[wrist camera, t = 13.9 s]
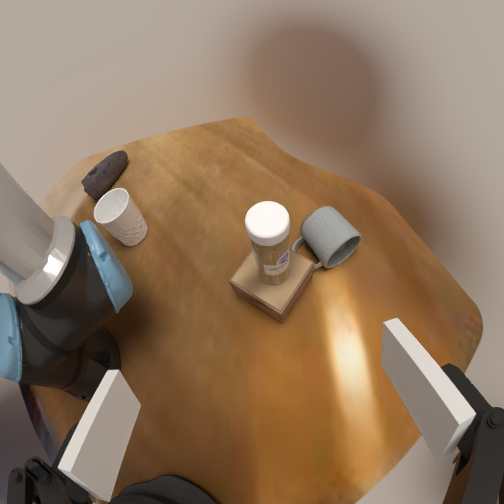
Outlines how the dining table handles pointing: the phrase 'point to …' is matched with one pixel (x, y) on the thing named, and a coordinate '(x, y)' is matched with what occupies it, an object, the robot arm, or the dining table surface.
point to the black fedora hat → (163, 492)
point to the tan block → (272, 285)
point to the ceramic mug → (328, 236)
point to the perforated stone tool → (104, 174)
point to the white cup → (121, 217)
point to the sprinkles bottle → (270, 240)
